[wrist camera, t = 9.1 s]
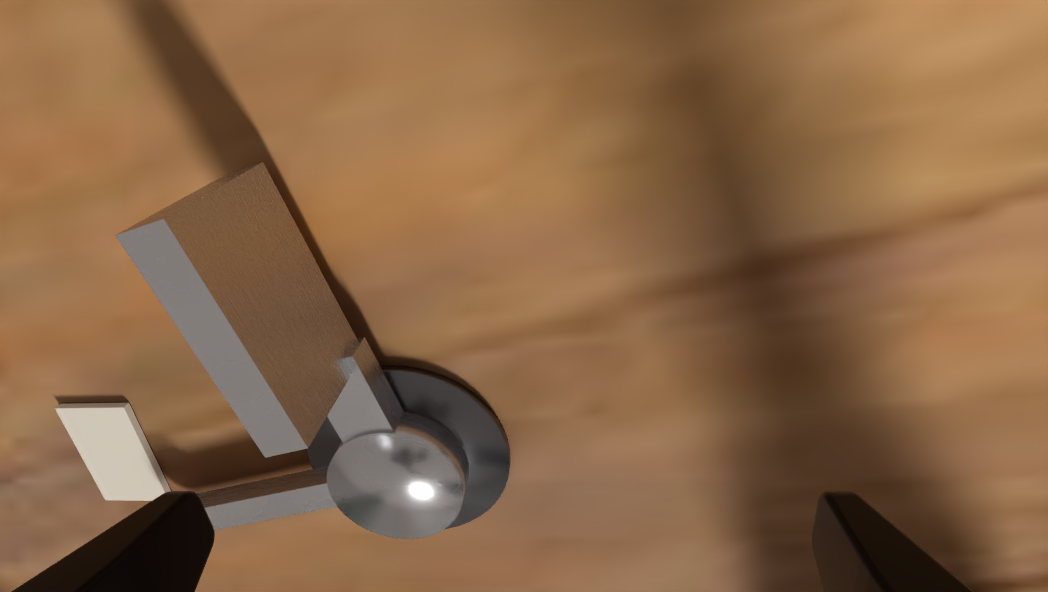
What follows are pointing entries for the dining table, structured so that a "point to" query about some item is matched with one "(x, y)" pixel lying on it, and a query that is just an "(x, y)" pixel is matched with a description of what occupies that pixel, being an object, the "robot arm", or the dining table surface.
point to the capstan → (292, 365)
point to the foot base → (459, 417)
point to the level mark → (114, 450)
